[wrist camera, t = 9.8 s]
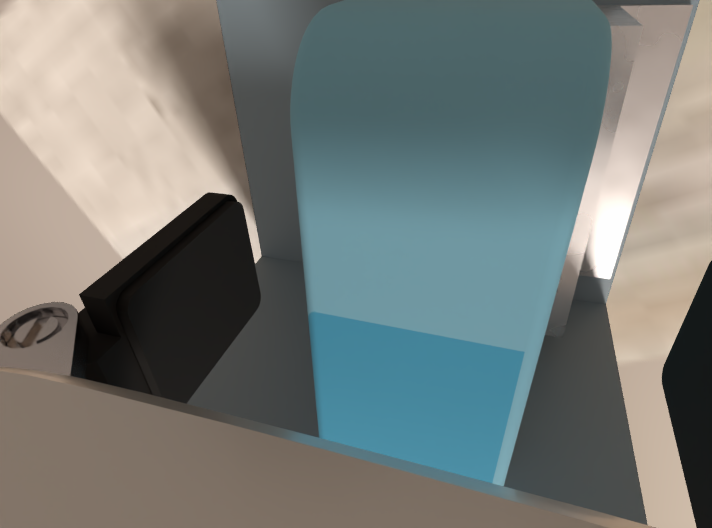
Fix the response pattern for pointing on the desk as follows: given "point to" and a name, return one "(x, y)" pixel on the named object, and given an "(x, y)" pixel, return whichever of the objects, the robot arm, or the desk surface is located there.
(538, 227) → the data package
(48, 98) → the desk surface
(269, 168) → the l-shaped stand
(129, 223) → the desk surface
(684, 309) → the desk surface
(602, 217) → the bookend
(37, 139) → the desk surface
